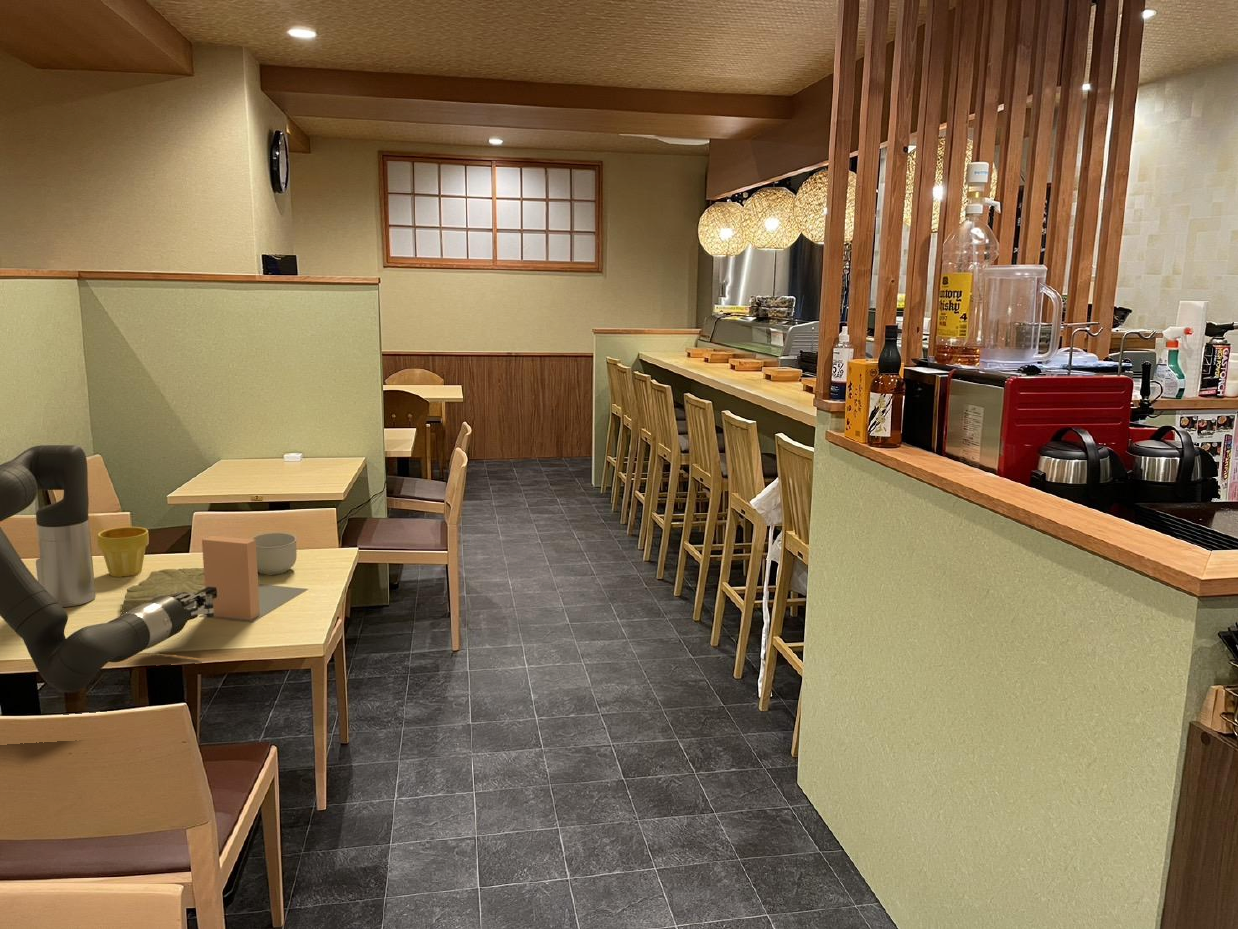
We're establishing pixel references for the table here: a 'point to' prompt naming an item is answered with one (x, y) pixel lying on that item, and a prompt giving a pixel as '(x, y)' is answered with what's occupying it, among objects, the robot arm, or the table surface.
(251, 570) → the terracotta tile
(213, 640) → the table surface
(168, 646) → the table surface
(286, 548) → the teacup
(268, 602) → the rubber mat
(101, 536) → the plant pot
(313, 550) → the table surface
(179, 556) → the table surface
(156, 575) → the decorative tile
